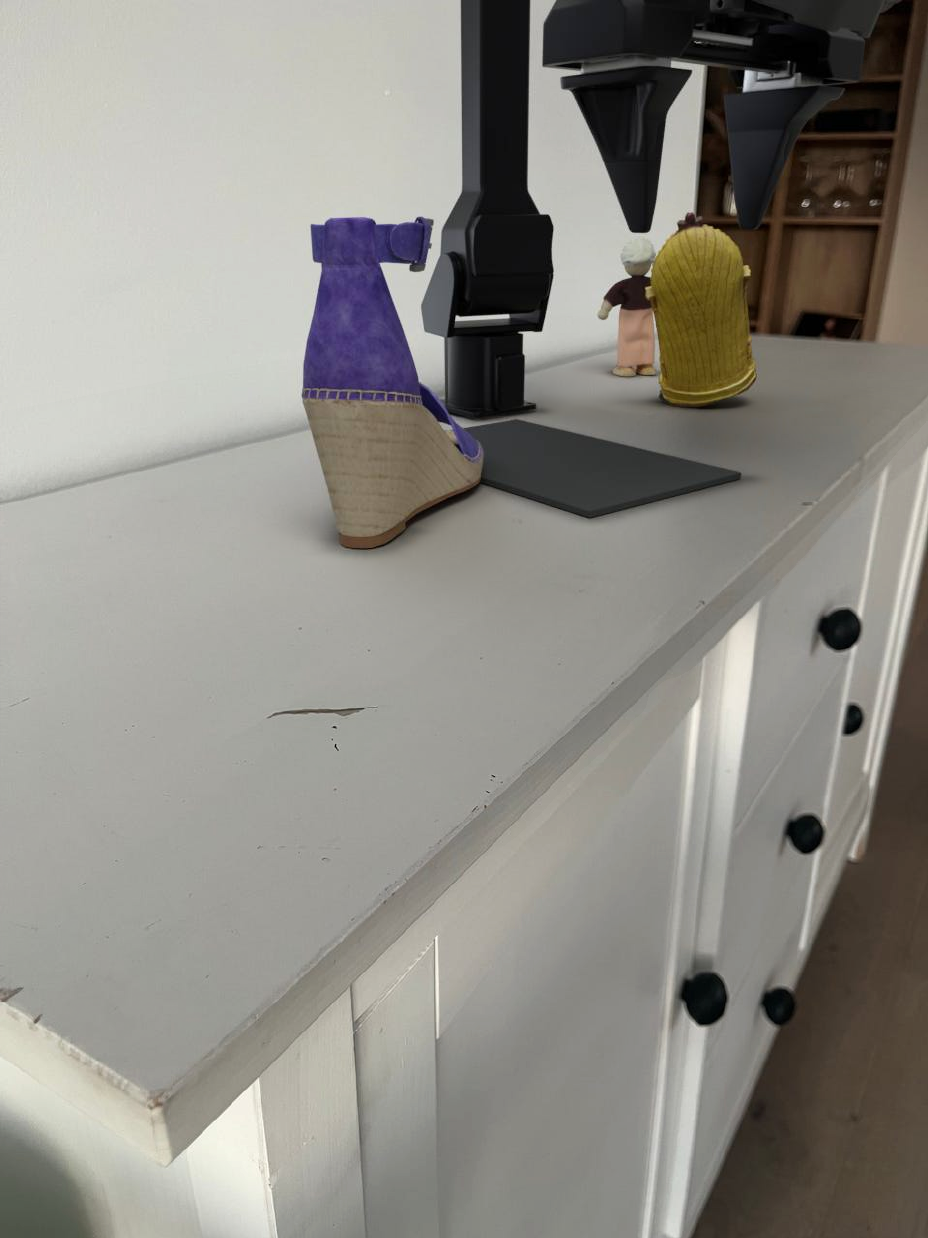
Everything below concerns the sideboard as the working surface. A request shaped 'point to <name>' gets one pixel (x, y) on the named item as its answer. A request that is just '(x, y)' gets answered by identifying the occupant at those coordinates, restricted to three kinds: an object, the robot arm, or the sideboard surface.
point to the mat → (584, 469)
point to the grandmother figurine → (633, 311)
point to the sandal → (375, 388)
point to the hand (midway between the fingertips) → (697, 230)
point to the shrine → (701, 316)
